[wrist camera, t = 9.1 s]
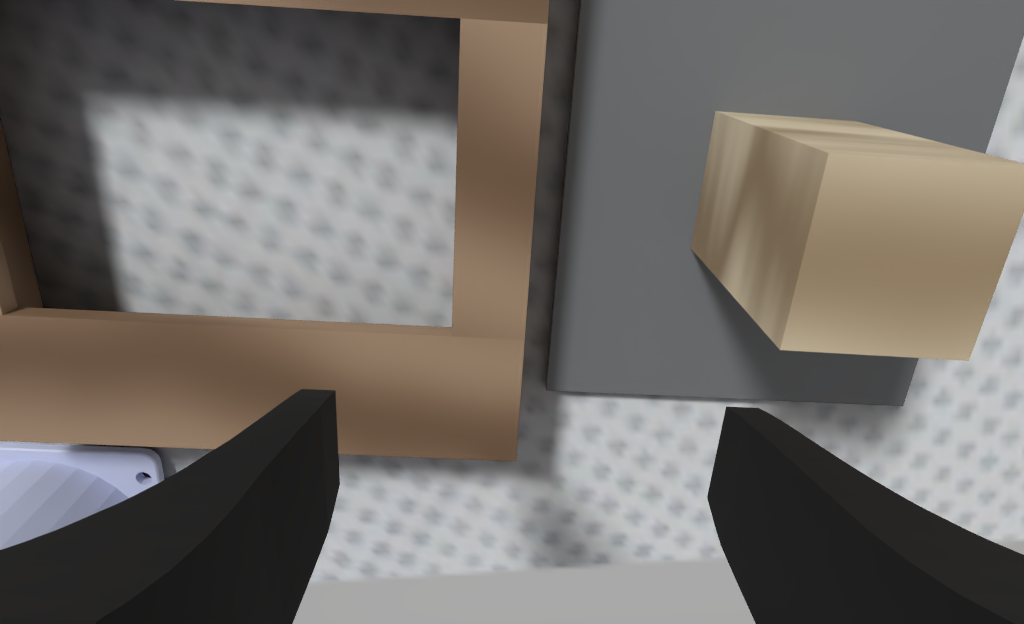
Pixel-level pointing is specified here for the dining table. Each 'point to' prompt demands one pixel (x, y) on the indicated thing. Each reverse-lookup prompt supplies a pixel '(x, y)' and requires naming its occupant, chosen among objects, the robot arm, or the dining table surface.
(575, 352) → the mat
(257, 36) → the dining table surface
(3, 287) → the wooden square frame
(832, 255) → the block
